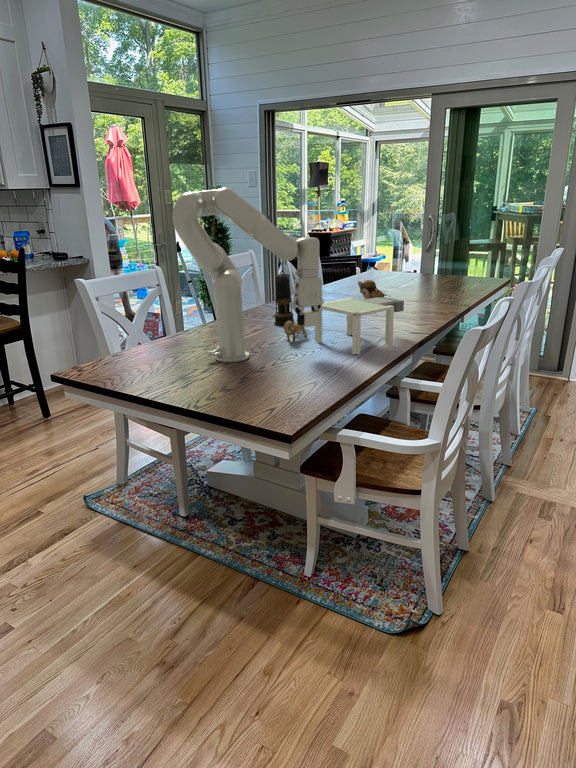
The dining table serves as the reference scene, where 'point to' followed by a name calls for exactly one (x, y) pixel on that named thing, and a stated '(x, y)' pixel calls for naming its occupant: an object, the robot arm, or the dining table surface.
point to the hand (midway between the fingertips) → (306, 323)
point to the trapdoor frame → (356, 323)
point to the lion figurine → (293, 330)
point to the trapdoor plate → (368, 304)
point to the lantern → (283, 299)
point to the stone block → (309, 318)
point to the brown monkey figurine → (370, 290)
